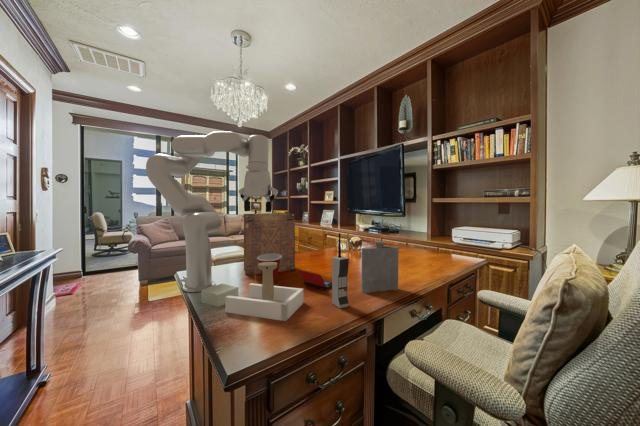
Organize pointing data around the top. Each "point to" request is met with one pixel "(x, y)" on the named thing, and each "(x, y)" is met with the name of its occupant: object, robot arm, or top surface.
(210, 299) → the sage block
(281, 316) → the cubby
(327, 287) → the handheld game console
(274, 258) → the plastic cup
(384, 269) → the hip flask
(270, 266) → the handle
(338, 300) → the grey brick cell phone
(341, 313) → the top surface
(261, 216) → the book
